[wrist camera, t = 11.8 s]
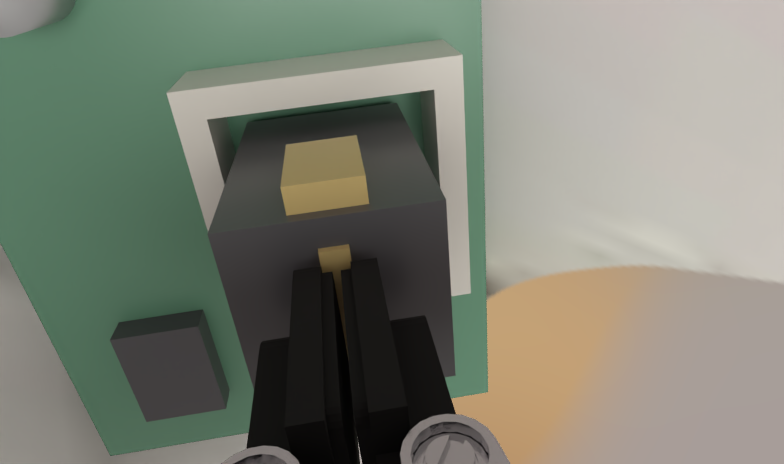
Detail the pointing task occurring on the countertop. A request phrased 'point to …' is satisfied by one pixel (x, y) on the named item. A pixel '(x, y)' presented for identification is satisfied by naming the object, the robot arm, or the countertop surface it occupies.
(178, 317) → the board
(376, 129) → the plug
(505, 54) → the countertop surface
